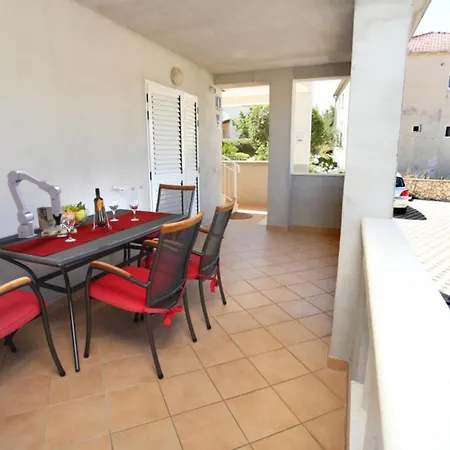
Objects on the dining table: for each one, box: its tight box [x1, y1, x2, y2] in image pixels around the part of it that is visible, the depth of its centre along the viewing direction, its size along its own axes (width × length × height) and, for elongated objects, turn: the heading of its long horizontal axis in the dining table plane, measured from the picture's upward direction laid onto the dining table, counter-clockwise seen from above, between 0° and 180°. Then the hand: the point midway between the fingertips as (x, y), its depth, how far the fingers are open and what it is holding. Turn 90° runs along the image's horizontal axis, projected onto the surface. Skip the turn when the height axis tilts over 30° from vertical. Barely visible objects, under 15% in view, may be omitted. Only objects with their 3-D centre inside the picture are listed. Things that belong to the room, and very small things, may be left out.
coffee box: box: [36, 206, 56, 231], centre depth 248 cm, size 9×6×16 cm
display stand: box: [40, 225, 78, 237], centre depth 237 cm, size 22×10×4 cm, turn 116°
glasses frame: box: [44, 224, 75, 232], centre depth 228 cm, size 18×4×6 cm, turn 116°
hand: (58, 224), depth 228 cm, fingers closed on glasses frame, 2 cm apart
